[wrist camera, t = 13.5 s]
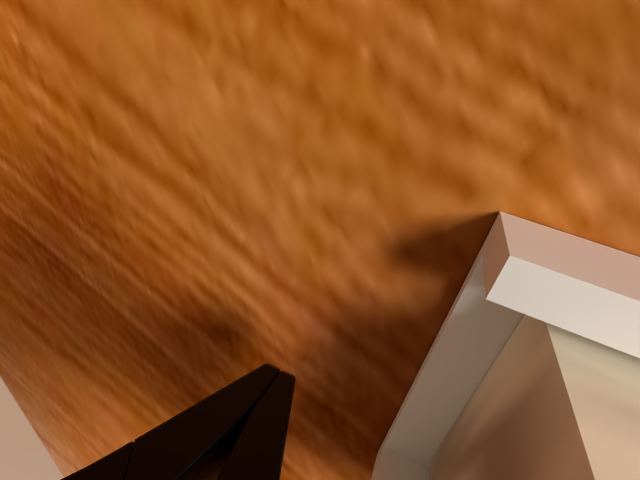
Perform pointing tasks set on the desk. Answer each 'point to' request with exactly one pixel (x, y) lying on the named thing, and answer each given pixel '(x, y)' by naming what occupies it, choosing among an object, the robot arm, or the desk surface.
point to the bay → (510, 326)
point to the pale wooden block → (548, 413)
